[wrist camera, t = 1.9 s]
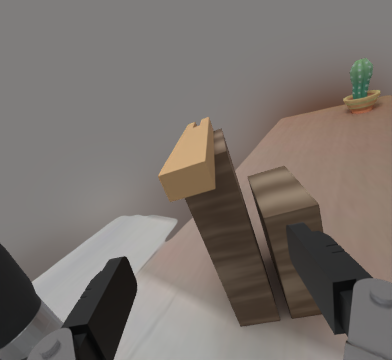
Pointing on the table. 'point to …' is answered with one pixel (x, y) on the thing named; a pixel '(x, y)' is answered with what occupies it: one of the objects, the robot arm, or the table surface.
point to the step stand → (246, 241)
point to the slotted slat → (190, 163)
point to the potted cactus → (361, 88)
